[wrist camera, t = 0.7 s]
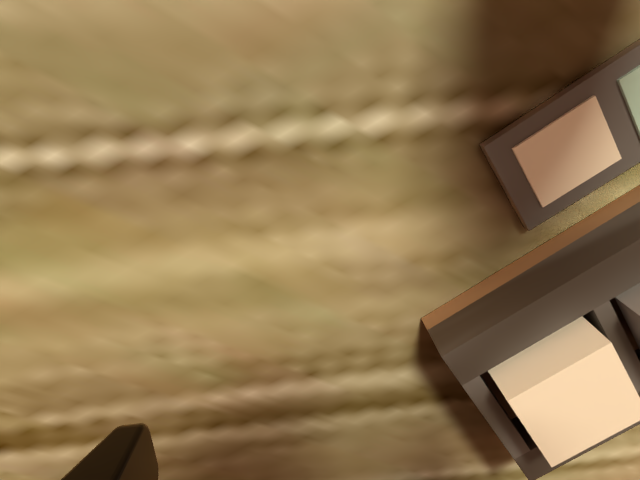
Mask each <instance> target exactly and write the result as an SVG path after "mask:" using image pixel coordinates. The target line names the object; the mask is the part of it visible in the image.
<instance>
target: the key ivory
mask: <svg viewBox="0 0 640 480" xmlns="http://www.w3.org/2000/svg"><path fill="white" fill-rule="evenodd" d="M488 372H489V374H490V375H491V377H492V378H493V380H494V381H495V383H496V384H497V386H498V388H499V389H500V391H501V392H502V394H503V395H504V397H505V398H506V400H507V402H508V403H509V405H510V406H511V407H512V409H513V410H514V412H515V413H516V415H517V416H518V418H519V419H520V421H521V422H522V424H523V425H524V427H525V428H526V430H527V431H528V433H529V434H530V436H531V437H532V439H533V440H534V442H535V443H536V445H537V446H538V448H539V449H540V451H541V452H542V454H543V455H544V457H545V458H546V460H547V461H548V463H549V464H550V466H551V467H554V466H556V465H558V464H559V463H561V462H563V461H565V460H567V459H569V458H571V457H573V456H574V455H576V454H578V453H580V452H582V451H584V450H586V449H588V448H589V447H591V446H593V445H595V444H597V443H599V442H601V441H603V440H604V439H606V438H608V437H610V436H612V435H614V434H616V433H618V432H619V431H621V430H623V429H625V428H627V427H629V426H631V425H632V424H634V423H636V422H638V421H640V397H639V395H638V393H637V391H636V389H635V387H634V385H633V383H632V382H631V380H630V378H629V376H628V374H627V372H626V370H625V368H624V366H623V364H622V362H621V360H620V358H619V356H618V354H617V352H616V350H615V349H614V347H613V345H612V343H611V342H610V341H609V340H608V339H607V338H606V337H605V336H604V335H603V334H601V333H600V332H599V331H598V330H597V329H596V328H595V327H594V326H593V325H591V324H590V323H589V322H588V321H587V320H586V319H585V318H584V317H583V316H582V317H580V318H578V319H576V320H575V321H573V322H571V323H569V324H568V325H566V326H564V327H563V328H561V329H559V330H557V331H556V332H554V333H552V334H550V335H549V336H547V337H545V338H544V339H542V340H540V341H538V342H537V343H535V344H533V345H531V346H530V347H528V348H526V349H525V350H523V351H521V352H519V353H518V354H516V355H514V356H512V357H511V358H509V359H507V360H506V361H504V362H502V363H500V364H499V365H497V366H495V367H493V368H492V369H490V370H488Z"/></svg>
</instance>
